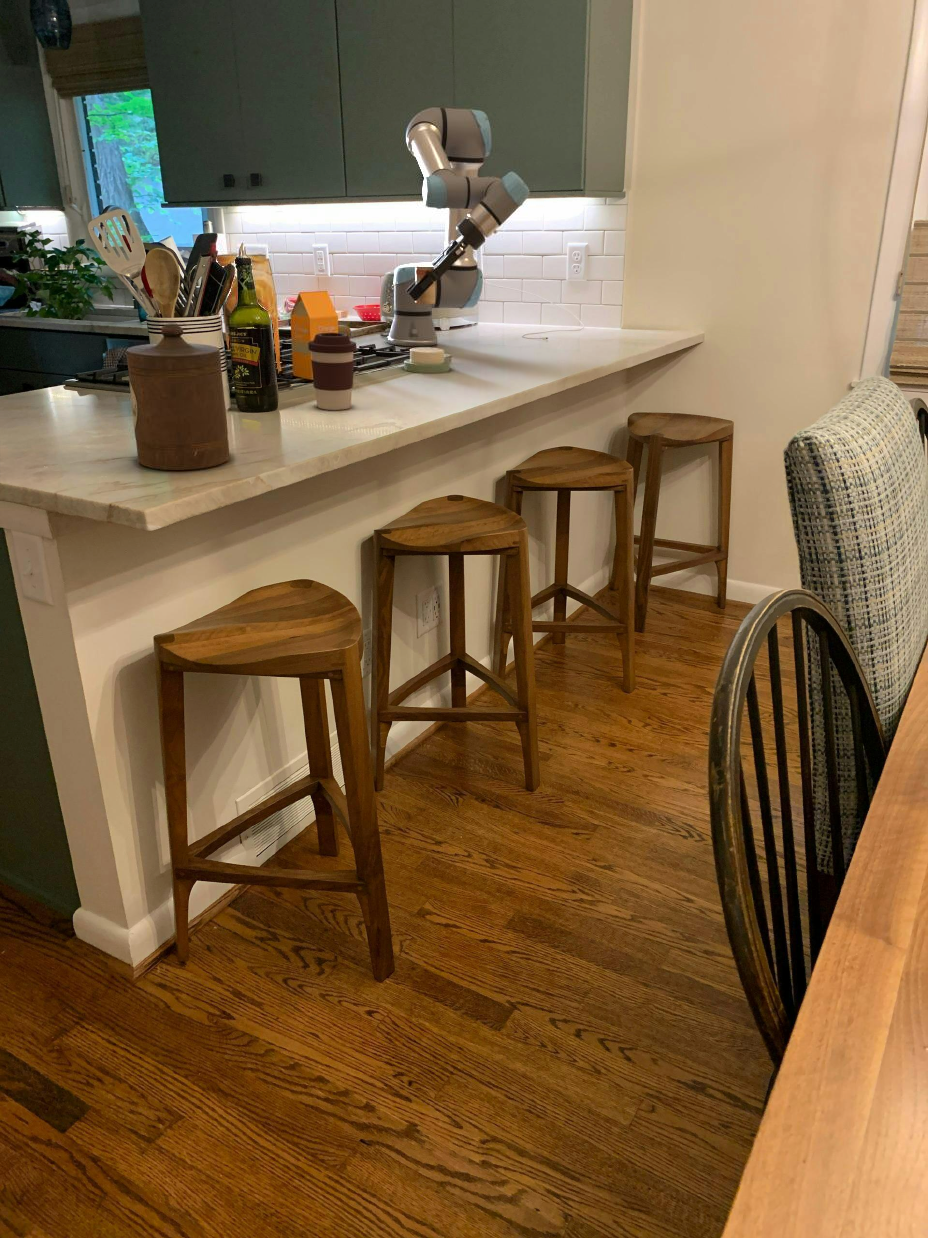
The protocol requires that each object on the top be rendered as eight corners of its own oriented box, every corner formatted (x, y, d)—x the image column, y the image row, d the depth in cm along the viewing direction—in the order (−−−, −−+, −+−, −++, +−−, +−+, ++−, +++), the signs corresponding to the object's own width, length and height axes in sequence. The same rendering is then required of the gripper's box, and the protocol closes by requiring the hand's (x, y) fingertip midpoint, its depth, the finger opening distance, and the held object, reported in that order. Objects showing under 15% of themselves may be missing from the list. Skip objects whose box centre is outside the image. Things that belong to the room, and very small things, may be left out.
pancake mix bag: (212, 377, 227) (203, 253, 216) (273, 368, 241) (267, 252, 229) (230, 380, 223) (221, 255, 212) (291, 371, 237) (285, 253, 225)
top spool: (410, 302, 239) (411, 264, 236) (425, 301, 243) (426, 264, 239) (424, 304, 236) (424, 266, 232) (439, 303, 239) (440, 265, 236)
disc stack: (395, 367, 247) (395, 348, 245) (428, 363, 255) (428, 345, 253) (425, 374, 239) (425, 354, 237) (458, 370, 247) (459, 350, 245)
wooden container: (170, 445, 166) (157, 316, 157) (245, 453, 162) (236, 321, 153) (119, 465, 153) (102, 325, 144) (199, 475, 149) (187, 332, 140)
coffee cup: (319, 413, 194) (317, 338, 187) (304, 404, 201) (301, 332, 195) (364, 410, 198) (363, 336, 192) (347, 401, 206) (345, 330, 200)
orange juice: (339, 376, 234) (337, 291, 226) (312, 379, 228) (309, 293, 220) (320, 371, 239) (317, 289, 230) (292, 375, 233) (288, 290, 224)
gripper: (492, 241, 227) (424, 310, 231) (481, 237, 243) (417, 302, 248) (471, 216, 224) (403, 287, 228) (461, 215, 240) (397, 281, 245)
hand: (410, 295), depth 238 cm, fingers closed on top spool, 5 cm apart
